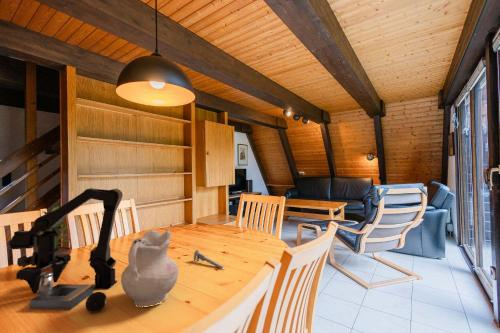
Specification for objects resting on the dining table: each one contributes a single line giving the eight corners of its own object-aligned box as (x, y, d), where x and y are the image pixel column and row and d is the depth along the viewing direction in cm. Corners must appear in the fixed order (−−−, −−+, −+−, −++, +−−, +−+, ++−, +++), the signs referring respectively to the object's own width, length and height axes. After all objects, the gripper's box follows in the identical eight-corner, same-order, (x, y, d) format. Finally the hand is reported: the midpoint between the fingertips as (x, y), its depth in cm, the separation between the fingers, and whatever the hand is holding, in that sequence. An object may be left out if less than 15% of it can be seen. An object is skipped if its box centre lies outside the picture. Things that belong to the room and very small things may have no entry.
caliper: (193, 261, 130) (193, 249, 130) (195, 260, 130) (195, 248, 131) (223, 270, 118) (224, 257, 118) (225, 269, 119) (225, 256, 119)
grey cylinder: (55, 288, 98) (56, 271, 98) (46, 294, 94) (46, 276, 94) (44, 288, 98) (45, 271, 98) (34, 294, 94) (34, 275, 94)
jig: (93, 292, 95) (93, 283, 96) (70, 310, 83) (70, 300, 84) (58, 291, 96) (58, 283, 96) (29, 309, 84) (29, 299, 84)
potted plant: (28, 279, 106) (29, 209, 106) (35, 267, 119) (36, 205, 119) (70, 272, 114) (71, 207, 114) (73, 261, 127) (74, 203, 127)
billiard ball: (89, 307, 85) (90, 289, 86) (108, 305, 87) (109, 287, 87) (82, 317, 80) (82, 298, 80) (102, 314, 81) (103, 296, 81)
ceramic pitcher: (166, 321, 80) (174, 243, 80) (103, 318, 78) (111, 239, 79) (180, 289, 101) (185, 228, 102) (131, 286, 100) (137, 224, 100)
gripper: (46, 240, 106) (45, 276, 106) (1, 255, 87) (0, 299, 87) (71, 240, 106) (71, 277, 105) (32, 255, 87) (31, 300, 87)
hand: (45, 287), depth 96 cm, fingers open, 9 cm apart
